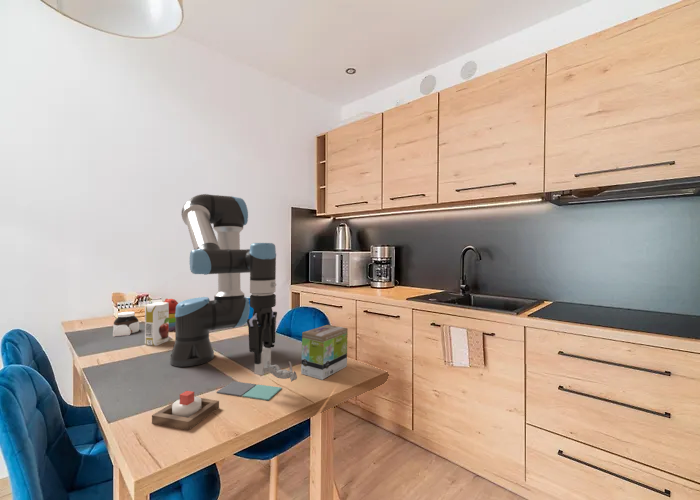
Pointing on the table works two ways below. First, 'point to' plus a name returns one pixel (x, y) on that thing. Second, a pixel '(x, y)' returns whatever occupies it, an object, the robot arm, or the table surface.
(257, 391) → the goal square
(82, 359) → the table surface
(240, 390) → the dark grey square tile
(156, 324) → the juice carton
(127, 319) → the spread jar
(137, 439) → the table surface
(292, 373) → the soldier figure
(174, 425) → the frame
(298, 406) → the table surface
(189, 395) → the white and red button
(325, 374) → the tea box
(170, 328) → the stacking bear
